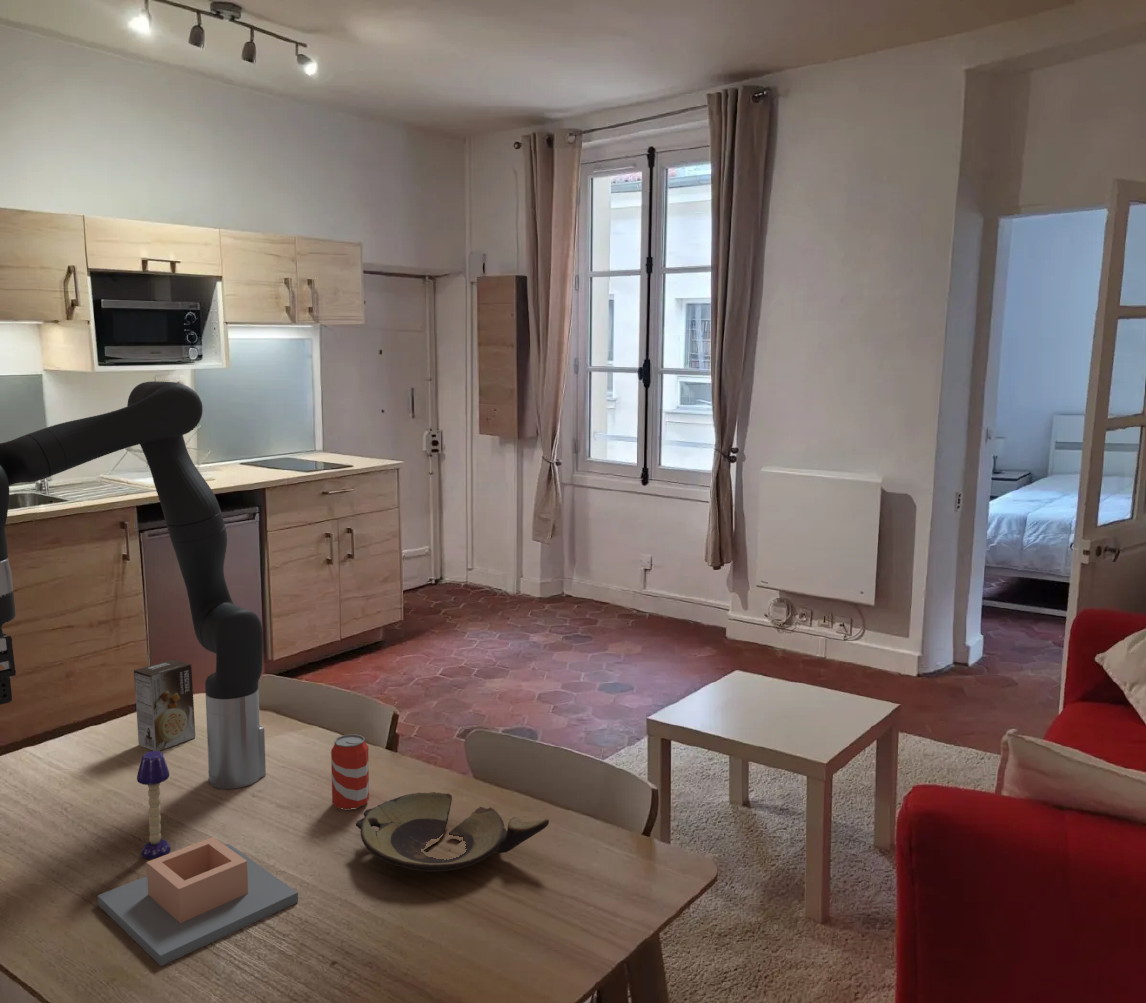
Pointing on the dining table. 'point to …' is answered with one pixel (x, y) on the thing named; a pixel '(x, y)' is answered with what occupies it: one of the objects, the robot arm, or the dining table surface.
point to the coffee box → (164, 704)
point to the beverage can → (350, 772)
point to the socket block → (195, 899)
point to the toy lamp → (154, 801)
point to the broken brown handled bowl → (437, 831)
